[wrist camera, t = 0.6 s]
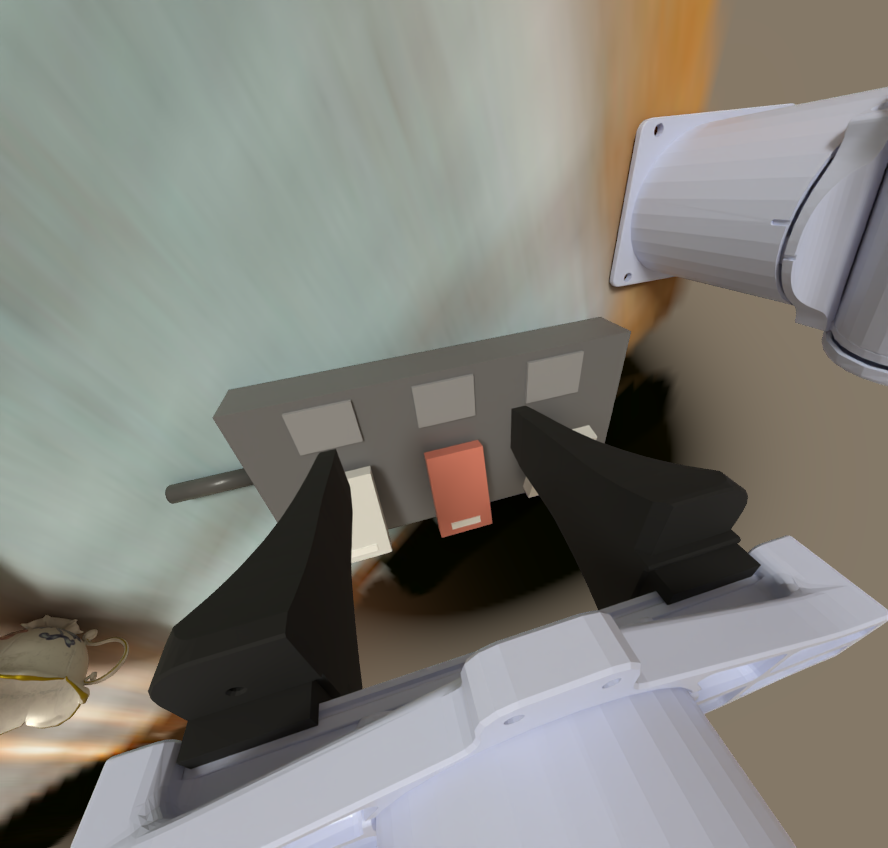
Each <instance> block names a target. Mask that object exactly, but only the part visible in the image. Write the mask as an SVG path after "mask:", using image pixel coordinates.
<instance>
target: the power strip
mask: <svg viewBox="0 0 888 848" xmlns="http://www.w3.org/2000/svg"><path fill="white" fill-rule="evenodd" d="M630 334H631V331H629V330H627V329H625V328H623V327H621V326H619V325H617V324H614V323H612V322H610V321H608V320H606V319H604V318H602V317H598V318H593V319H587V320H582V321H577V322H572V323H567V324H562V325H557V326H552V327H547V328H542V329H537V330H532V331H526V332H521V333H516V334H511V335H506V336H501V337H496V338H491V339H486V340H481V341H476V342H471V343H465V344H460V345H455V346H450V347H445V348H440V349H435V350H430V351H425V352H420V353H415V354H410V355H404V356H399V357H394V358H389V359H384V360H379V361H374V362H369V363H364V364H359V365H354V366H349V367H343V368H338V369H333V370H328V371H323V372H318V373H313V374H308V375H303V376H298V377H293V378H287V379H282V380H277V381H272V382H267V383H262V384H257V385H252V386H247V387H242V388H237V389H232V390H228V392H227V394H226V395H225V397H224V399H223V401H222V402H221V404H220V406H219V408H218V409H217V411H216V413H215V415H214V416H213V419H214V421H215V423H216V424H217V426H218V427H219V429H220V431H221V432H222V434H223V435H224V437H225V439H226V440H227V442H228V444H229V445H230V447H231V448H232V450H233V452H234V453H235V455H236V456H237V458H238V460H239V461H240V463H241V464H242V466H243V469H238V470H234V471H230V472H225V473H221V474H217V475H212V476H208V477H204V478H199V479H195V480H191V481H186V482H182V483H178V484H173V485H169V486H168V487H167V488H166V491H165V495H166V498H167V500H168V501H169V502H170V503H172V504H174V503H178V502H182V501H186V500H191V499H195V498H199V497H203V496H207V495H212V494H216V493H220V492H224V491H228V490H233V489H237V488H241V487H245V486H250V485H255V487H256V489H257V490H258V492H259V494H260V495H261V497H262V498H263V500H264V502H265V503H266V505H267V506H268V508H269V510H270V511H271V513H272V514H273V516H274V518H275V519H276V521H277V523H278V521H279V520H280V519H281V517H282V516H283V514H284V513H285V511H286V510H287V508H288V507H289V505H290V504H291V502H292V500H293V499H294V497H295V496H296V494H297V492H298V491H299V489H300V487H301V485H302V484H303V482H304V480H305V478H306V476H307V475H308V473H309V471H310V469H311V467H312V465H313V463H314V461H315V459H316V457H317V455H318V454H319V453H320V452H324V451H329V450H333V449H336V450H337V453H338V456H339V458H340V461H341V464H342V466H343V469H344V472H346V471H350V470H355V469H359V468H363V467H367V466H370V467H371V470H372V474H373V478H374V481H375V485H376V489H377V492H378V496H379V500H380V503H381V507H382V511H383V514H384V518H385V521H386V525H387V529H392V528H395V527H399V526H403V525H406V524H410V523H414V522H418V521H421V520H425V519H429V518H432V517H436V511H435V506H434V501H433V496H432V492H431V487H430V482H429V477H428V472H427V467H426V462H425V457H424V453H425V452H429V451H433V450H437V449H442V448H446V447H450V446H454V445H458V444H462V443H466V442H471V441H475V440H478V441H479V442H480V443H481V445H482V446H483V453H484V461H485V469H486V477H487V485H488V493H489V501H490V502H491V501H495V500H499V499H502V498H506V497H510V496H514V495H517V494H521V493H525V490H524V487H523V485H524V481H525V478H526V476H525V474H524V473H523V471H522V470H521V468H520V466H519V464H518V462H517V460H516V458H515V456H514V454H513V452H512V450H511V448H510V445H511V409H512V408H517V407H521V406H525V405H526V406H528V407H530V408H532V409H534V410H536V411H538V412H539V413H541V414H543V415H545V416H547V417H549V418H551V419H552V420H554V421H556V422H558V423H560V424H562V425H564V426H566V427H568V428H570V429H575V428H579V427H583V426H587V425H589V426H590V427H591V429H592V430H593V431H594V433H595V434H596V435H597V439H596V440H597V441H599V442H602V443H605V439H606V435H607V430H608V426H609V422H610V418H611V414H612V409H613V405H614V401H615V397H616V393H617V388H618V384H619V380H620V376H621V371H622V367H623V363H624V359H625V355H626V350H627V346H628V342H629V338H630Z"/></svg>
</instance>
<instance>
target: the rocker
mask: <svg viewBox="0 0 888 848" xmlns="http://www.w3.org/2000/svg"><path fill="white" fill-rule="evenodd" d="M345 474H346V477H347V480H348V482H349V485H350V489H351V498H352V508H353V522H352V556H351V563H353V562H357V561H360V560H364V559H368V558H371V557H375V556H378V555H382V554H385V553H389V552H392V546H391V540H390V536H389V532H388V529H387V525H386V521H385V518H384V514H383V511H382V507H381V503H380V500H379V496H378V492H377V489H376V485H375V481H374V478H373V474H372V470H371V467H370V466H367V467H363V468H359V469H355V470H350V471H346V472H345Z"/></svg>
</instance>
